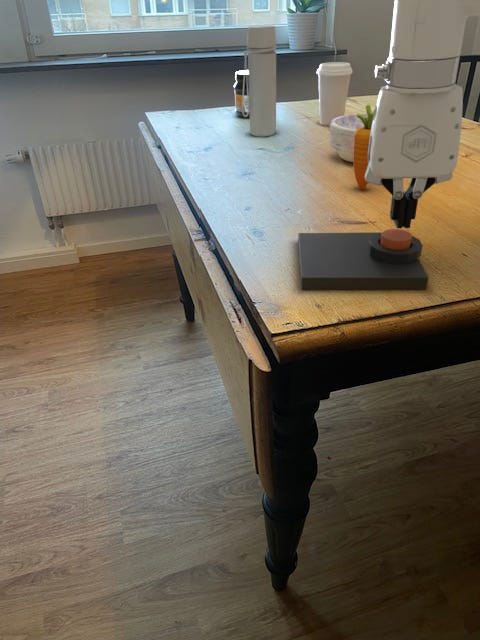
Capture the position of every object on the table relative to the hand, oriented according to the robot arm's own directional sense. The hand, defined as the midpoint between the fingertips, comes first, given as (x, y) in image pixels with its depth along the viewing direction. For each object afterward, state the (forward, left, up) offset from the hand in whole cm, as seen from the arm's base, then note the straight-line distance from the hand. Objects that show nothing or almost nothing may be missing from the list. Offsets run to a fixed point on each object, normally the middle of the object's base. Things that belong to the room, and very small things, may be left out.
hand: (401, 223), depth 67 cm
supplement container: (+24, -99, -6) cm, 102 cm away
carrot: (0, -31, -6) cm, 31 cm away
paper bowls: (-3, -52, -6) cm, 52 cm away
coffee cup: (+1, -86, -6) cm, 86 cm away
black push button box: (+5, 0, -6) cm, 8 cm away
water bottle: (+21, -75, -6) cm, 78 cm away
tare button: (0, 0, -3) cm, 3 cm away
